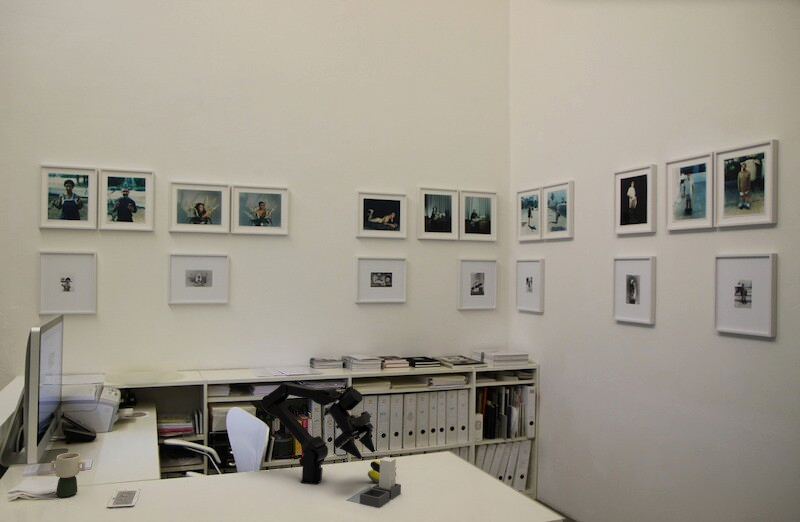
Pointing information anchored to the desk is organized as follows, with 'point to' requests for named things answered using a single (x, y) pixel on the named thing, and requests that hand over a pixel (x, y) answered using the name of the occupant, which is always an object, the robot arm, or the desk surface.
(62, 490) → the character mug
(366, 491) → the board
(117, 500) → the touchpad
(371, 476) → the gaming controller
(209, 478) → the desk surface
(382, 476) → the plug
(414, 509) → the desk surface
